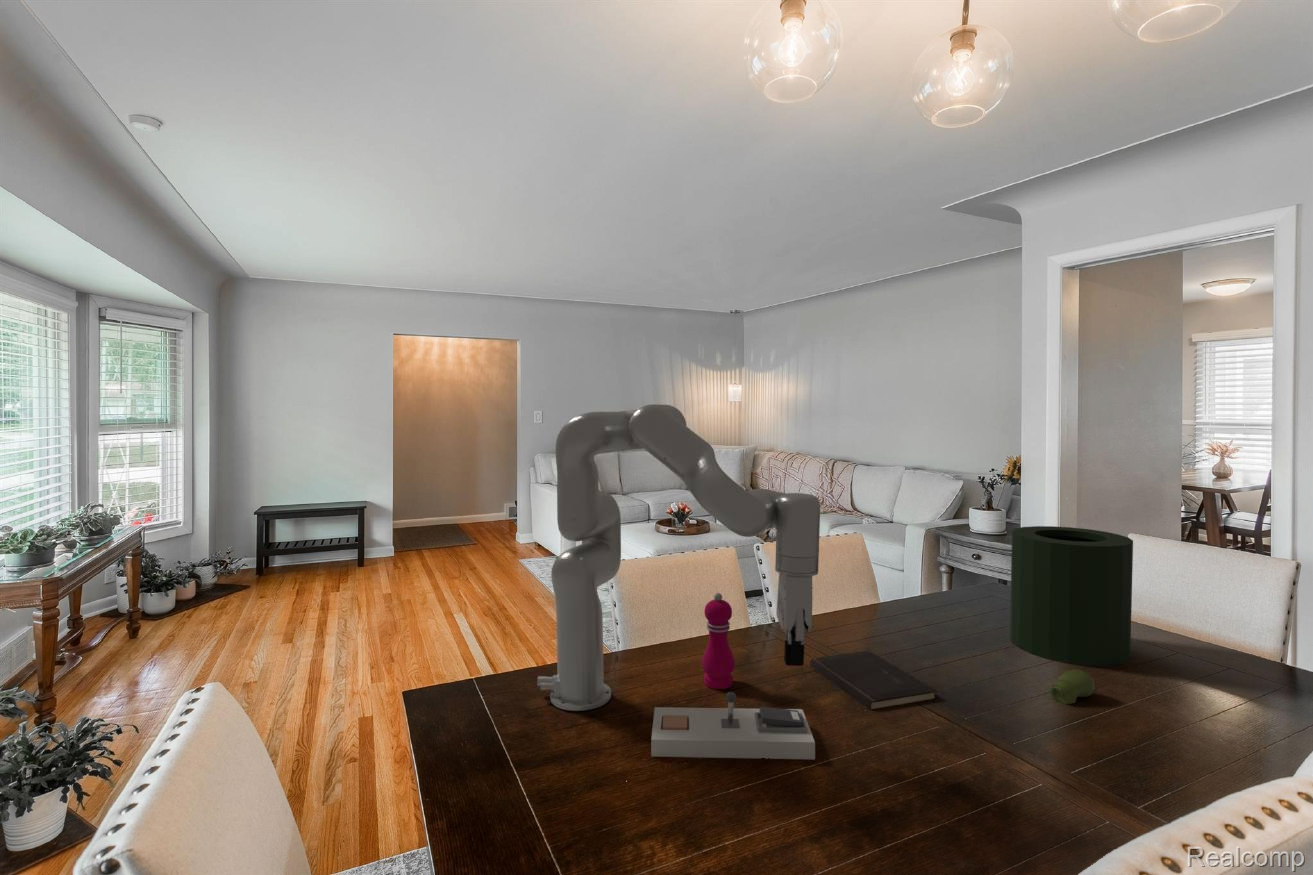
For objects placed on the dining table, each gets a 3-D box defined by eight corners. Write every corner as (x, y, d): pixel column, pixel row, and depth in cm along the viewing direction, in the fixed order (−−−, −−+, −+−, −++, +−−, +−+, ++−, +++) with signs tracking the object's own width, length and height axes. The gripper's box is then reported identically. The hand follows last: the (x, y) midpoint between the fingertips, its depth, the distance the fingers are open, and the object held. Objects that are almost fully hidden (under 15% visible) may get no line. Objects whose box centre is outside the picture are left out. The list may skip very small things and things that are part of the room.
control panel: (651, 756, 111) (651, 734, 110) (654, 722, 123) (654, 703, 122) (814, 759, 109) (814, 737, 109) (802, 724, 121) (802, 705, 121)
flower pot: (1125, 640, 163) (1128, 531, 162) (1135, 675, 142) (1138, 550, 141) (1013, 623, 177) (1015, 523, 176) (1006, 653, 156) (1008, 539, 154)
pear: (1099, 671, 131) (1069, 689, 127) (1101, 696, 131) (1071, 714, 127) (1072, 662, 136) (1041, 678, 132) (1074, 685, 136) (1044, 702, 132)
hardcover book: (868, 659, 154) (868, 650, 153) (936, 701, 132) (937, 690, 132) (809, 668, 149) (809, 658, 149) (870, 712, 127) (870, 701, 127)
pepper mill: (733, 691, 136) (733, 598, 135) (699, 689, 137) (699, 596, 136) (736, 677, 143) (736, 589, 142) (704, 675, 144) (703, 587, 143)
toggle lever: (725, 726, 115) (726, 697, 112) (725, 718, 117) (725, 689, 114) (735, 726, 115) (736, 697, 112) (734, 718, 116) (735, 689, 114)
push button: (662, 742, 114) (662, 726, 114) (663, 729, 119) (663, 715, 118) (687, 742, 114) (687, 727, 114) (687, 730, 118) (687, 715, 118)
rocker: (762, 723, 113) (762, 717, 113) (759, 711, 118) (759, 706, 118) (801, 727, 113) (802, 721, 113) (797, 715, 117) (798, 710, 117)
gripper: (770, 552, 121) (767, 647, 123) (781, 573, 107) (778, 681, 108) (810, 553, 121) (807, 648, 122) (827, 575, 106) (823, 682, 107)
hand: (793, 663), depth 115 cm, fingers closed
